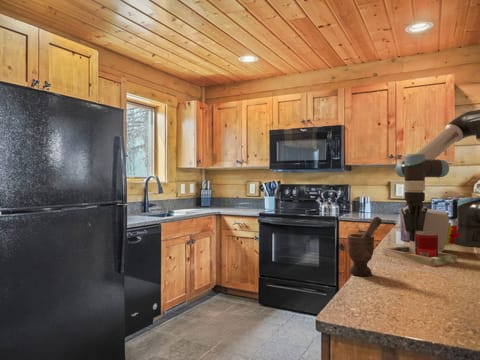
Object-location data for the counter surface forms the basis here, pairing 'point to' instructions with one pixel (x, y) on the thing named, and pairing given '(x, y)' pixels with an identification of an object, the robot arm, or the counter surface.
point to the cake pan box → (403, 227)
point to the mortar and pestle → (362, 249)
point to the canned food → (426, 243)
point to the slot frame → (405, 255)
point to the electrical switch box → (440, 227)
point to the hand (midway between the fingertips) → (414, 248)
